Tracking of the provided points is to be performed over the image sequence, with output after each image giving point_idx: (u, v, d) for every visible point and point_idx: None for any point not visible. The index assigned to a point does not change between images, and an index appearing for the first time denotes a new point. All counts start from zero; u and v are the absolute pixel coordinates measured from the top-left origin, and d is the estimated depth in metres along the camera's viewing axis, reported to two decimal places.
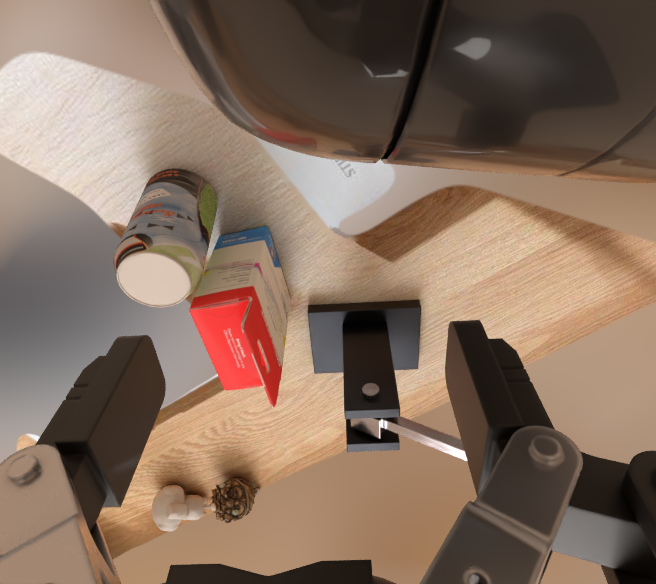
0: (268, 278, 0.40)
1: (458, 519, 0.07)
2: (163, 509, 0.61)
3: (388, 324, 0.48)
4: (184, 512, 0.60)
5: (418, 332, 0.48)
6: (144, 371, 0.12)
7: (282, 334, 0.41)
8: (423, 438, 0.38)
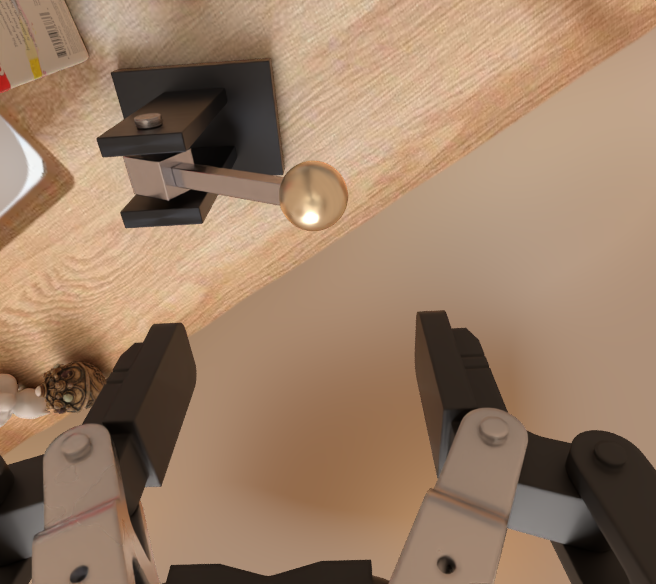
0: None
1: (421, 506, 0.07)
2: None
3: (228, 93, 0.34)
4: (5, 401, 0.46)
5: (273, 108, 0.34)
6: (179, 357, 0.13)
7: (29, 53, 0.27)
8: (221, 182, 0.24)
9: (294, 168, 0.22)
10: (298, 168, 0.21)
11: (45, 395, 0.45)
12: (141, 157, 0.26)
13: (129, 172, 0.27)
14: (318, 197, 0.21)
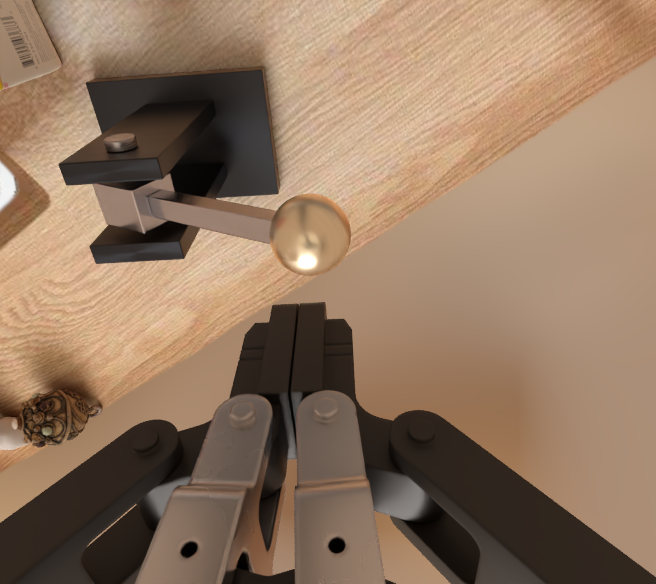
0: None
1: (295, 506, 0.07)
2: None
3: (217, 105, 0.30)
4: None
5: (266, 122, 0.31)
6: None
7: None
8: (203, 215, 0.21)
9: (287, 203, 0.18)
10: (292, 204, 0.18)
11: (22, 428, 0.42)
12: (112, 184, 0.22)
13: (100, 200, 0.23)
14: (315, 239, 0.18)
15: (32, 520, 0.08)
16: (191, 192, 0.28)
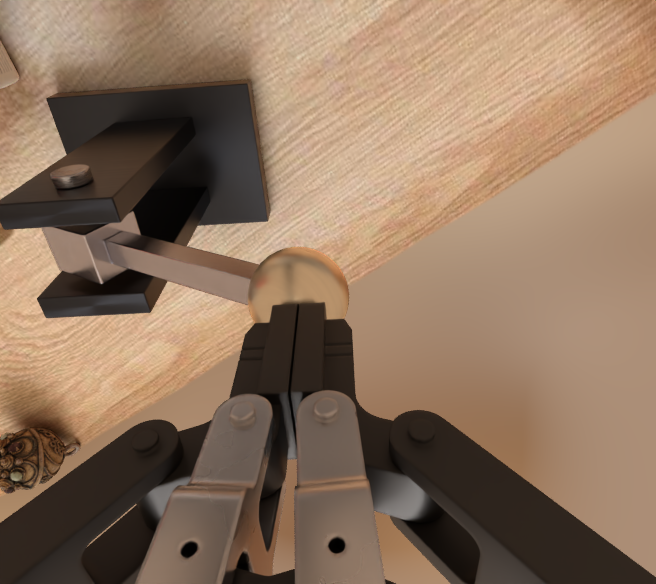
0: None
1: (295, 506, 0.07)
2: None
3: (196, 124, 0.27)
4: None
5: (253, 142, 0.27)
6: None
7: None
8: (170, 267, 0.17)
9: (269, 261, 0.15)
10: (275, 263, 0.14)
11: None
12: None
13: (50, 243, 0.19)
14: None
15: (32, 520, 0.08)
16: (165, 225, 0.24)
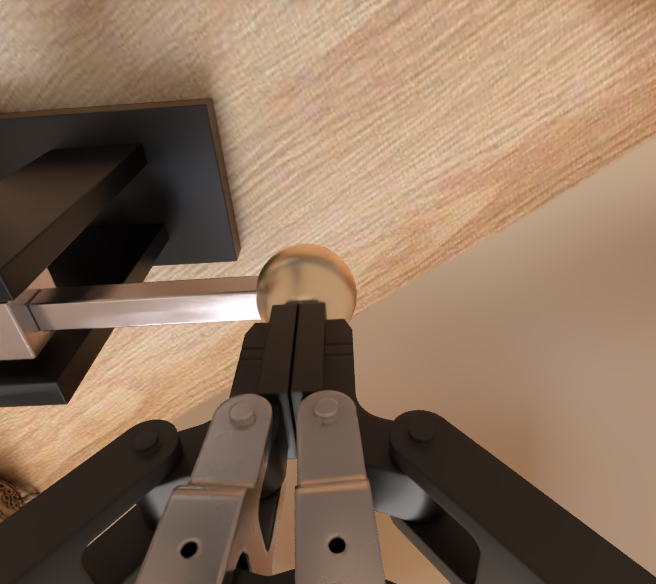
0: None
1: (295, 506, 0.07)
2: None
3: (148, 151, 0.23)
4: None
5: (216, 171, 0.23)
6: None
7: None
8: (139, 308, 0.15)
9: (281, 264, 0.14)
10: (290, 263, 0.14)
11: None
12: None
13: None
14: (337, 299, 0.14)
15: (32, 520, 0.08)
16: (104, 277, 0.20)
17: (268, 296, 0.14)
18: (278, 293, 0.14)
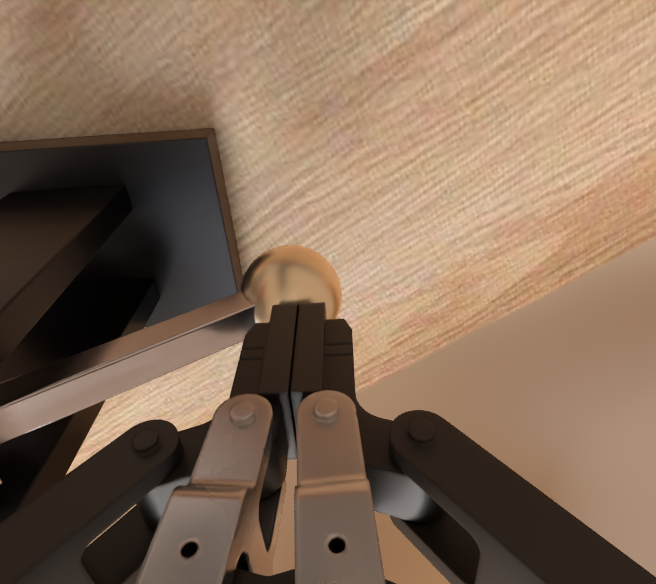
0: None
1: (295, 506, 0.07)
2: None
3: (133, 194, 0.18)
4: None
5: (219, 219, 0.18)
6: None
7: None
8: (129, 367, 0.13)
9: (276, 268, 0.14)
10: (286, 265, 0.14)
11: None
12: None
13: None
14: (336, 285, 0.15)
15: (32, 520, 0.08)
16: None
17: (275, 303, 0.14)
18: (287, 296, 0.14)
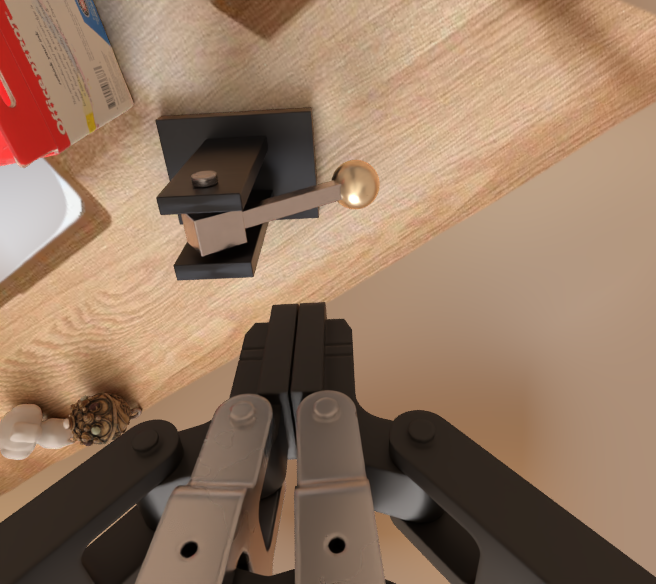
0: (54, 10, 0.27)
1: (295, 506, 0.07)
2: (6, 430, 0.47)
3: (269, 141, 0.35)
4: (32, 432, 0.47)
5: (312, 155, 0.35)
6: None
7: (86, 108, 0.28)
8: (291, 204, 0.29)
9: (351, 167, 0.31)
10: (355, 165, 0.31)
11: (73, 428, 0.45)
12: (214, 213, 0.26)
13: (200, 234, 0.26)
14: (377, 177, 0.31)
15: (32, 520, 0.08)
16: None
17: (351, 182, 0.31)
18: (357, 178, 0.30)
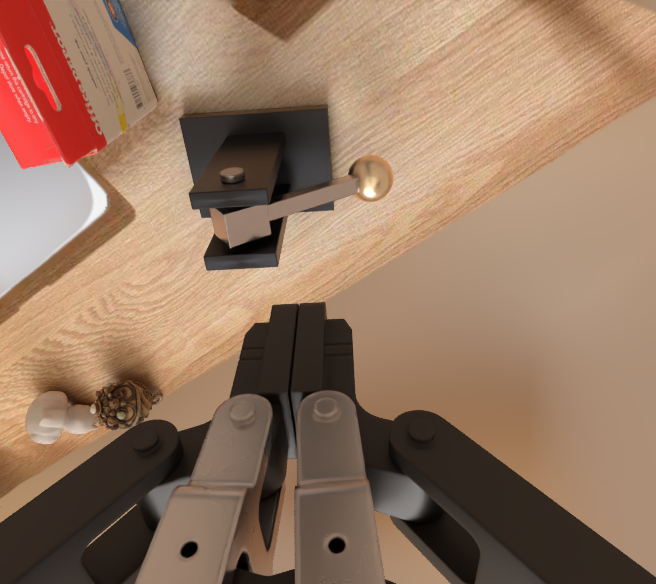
0: (89, 18, 0.28)
1: (295, 506, 0.07)
2: (35, 415, 0.49)
3: (287, 137, 0.36)
4: (60, 418, 0.49)
5: (328, 150, 0.37)
6: None
7: (118, 110, 0.30)
8: (311, 197, 0.31)
9: (367, 162, 0.33)
10: (371, 160, 0.33)
11: (99, 413, 0.48)
12: (241, 207, 0.28)
13: (229, 227, 0.28)
14: (391, 171, 0.33)
15: (32, 520, 0.08)
16: None
17: (367, 176, 0.32)
18: (372, 173, 0.32)
